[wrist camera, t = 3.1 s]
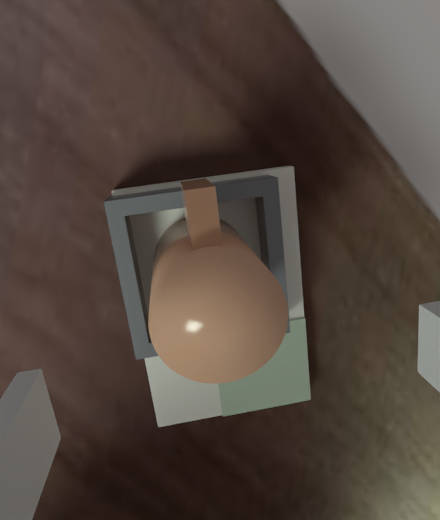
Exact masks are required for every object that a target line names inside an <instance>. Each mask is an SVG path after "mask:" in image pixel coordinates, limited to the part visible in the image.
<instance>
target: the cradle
mask: <svg viewBox="0 0 440 520" xmlns="http://www.w3.org/2000/svg"><path fill="white" fill-rule="evenodd" d="M211 183H212V184H213V185H214V186H215V188H216V196H217V203H220V202H227V201H234V200H241V199H248V198H255V201H256V212H257V222H258V232H259V242H260V252H261V261H262V262H263V264H264V265H265V266H266V267H267V268H268V270H269V271H270V272H271V273H272V274H273V275H274V277H275V278H276V279H277V281H278V282H279V284H280V285H281V287H282V289H283V292H284V294H285V297H286V300H287V306H288V296H287V284H286V272H285V259H284V247H283V235H282V222H281V210H280V198H279V186H278V177H274V176H271V175H261V176H254V177H247V178H239V179H232V180H225V181H218V182H211ZM104 205H105V210H106V215H107V220H108V225H109V230H110V235H111V240H112V244H113V249H114V254H115V259H116V264H117V269H118V274H119V279H120V284H121V288H122V293H123V298H124V303H125V308H126V313H127V318H128V323H129V328H130V332H131V337H132V342H133V347H134V352H135V357H136V360H138V359H143V358H149V357H155V356H159V355H158V354H157V352H156V351H155V349H154V346H153V344H152V342H151V338H150V334H149V326H148V314H147V308H146V303H145V298H144V293H143V287H142V282H141V277H140V271H139V266H138V261H137V255H136V250H135V245H134V240H133V234H132V229H131V224H130V218H129V215H136V214H143V213H150V212H157V211H164V210H171V209H178V208H184V204H183V197H182V191H181V187H174V188H167V189H160V190H153V191H145V192H138V193H131V194H124V195H117V196H109V197H108V198H107V199H106V200H105V201H104ZM286 333H290V321H289V308H288V324H287V329H286ZM286 333H285V334H286Z"/></svg>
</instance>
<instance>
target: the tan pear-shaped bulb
mask: <svg viewBox="0 0 440 520" xmlns="http://www.w3.org/2000/svg"><path fill="white" fill-rule="evenodd" d="M180 184H181V191H182V197H183V204H184V211H185V218H183V219H181V220H179V221H177V222H175V223H174V224H173V225H171V226H170V227H169V228H168V229H167V230H166V231H165V232H164V233H163V234H162V236H161V237H160V239H159V241H158V243H157V245H156V248H155V252H154V259H153V271H152V283H151V294H150V306H149V319H148V326H149V334H150V338H151V342H152V344H153V346H154V349H155V351H156V352H157V354H158V355H159V357H160V358H161V359H162V361H163V362H164V363H165V364H166V365H167V366H168V367H169V368H170V369H172V370H173V371H175V372H176V373H177V374H179V375H181V376H183V377H185V378H187V379H190V380H193V381H197V382H201V383H209V384H220V383H228V382H232V381H236V380H239V379H242V378H244V377H246V376H248V375H250V374H252V373H254V372H256V371H257V370H259V369H260V368H261V367H262V366H264V365H265V364H266V363H267V362H268V361H269V360H270V359H271V358H272V357H273V355H274V354H275V353H276V351H277V350H278V348H279V347H280V345H281V343H282V341H283V338H284V336H285V333H286V329H287V324H288V306H287V300H286V297H285V294H284V292H283V289H282V287H281V285H280V284H279V282H278V281H277V279H276V278H275V277H274V275H273V274H272V273H271V272H270V271H269V270H268V268H267V267H266V266H265V265H264V264H263V262H262V261H261V260H260V259H259V258H258V256H257V255H256V254H255V253H254V252H253V250H252V249H251V248H250V247H249V246H248V244H247V243H246V242H245V241H244V240H243V238H242V237H241V236H240V235H239V234H238V232H237V231H236V230H235V229H234V228H233V227H232V226H231V225H230V224H228V223H227V222H225V221H223V220H221V219H219V212H218V204H217V196H216V188H215V186H214V185H213V184H212V183H211V182H209V181H208V180H207V179H206V178H204V179H197V180H190V181H182V182H180Z"/></svg>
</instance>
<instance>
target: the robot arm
mask: <svg viewBox="0 0 440 520" xmlns="http://www.w3.org/2000/svg"><path fill="white" fill-rule="evenodd" d="M418 373H419V374H420V375H421V376H423V377H424V378H425V379H426V380H427V381H428V382H429V383H430V384H431V385H432V386H433V387H434V388H435V389H437V390H438V391H439V392H440V301H436V302H430V303H425V304H419V331H418ZM60 439H61V436H60V433H59V429H58V426H57V422H56V419H55V415H54V412H53V408H52V405H51V401H50V398H49V394H48V391H47V387H46V384H45V380H44V377H43V373H42V370H41V369H37V370H31V371H25V372H19V373H17V374H16V376H15V377H14V379H13V380H12V382H11V383H10V385H9V387H8V388H7V390H6V391H5V393H4V394H3V396H2V398H1V399H0V520H32V519H33V516H34V513H35V510H36V507H37V504H38V502H39V499H40V496H41V493H42V490H43V487H44V485H45V482H46V479H47V476H48V473H49V470H50V468H51V465H52V462H53V459H54V456H55V453H56V450H57V448H58V445H59V442H60Z"/></svg>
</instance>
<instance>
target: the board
mask: <svg viewBox="0 0 440 520" xmlns="http://www.w3.org/2000/svg"><path fill="white" fill-rule="evenodd" d="M261 175H271V176H274V177H278V186H279V198H280V210H281V222H282V235H283V247H284V259H285V272H286V284H287V296H288V308H289V321H290V333H286V334H285V336H284V338H283V341H282V343H281V345H280V347H279V348H278V350H277V351H276V353H275V354H274V355H273V357H272V358H271V359H270V360H269V361H268V362H267V363H266V364H265V365H264V366H262V367H261V368H260V369H259V370H257V371H256V372H254V373H252V374H250V375H248V376H246V377H244V378H242V379H239V380H236V381H232V382H228V383H220V384H209V383H201V382H197V381H193V380H190V379H187V378H185V377H183V376H181V375H179V374H177V373H176V372H175V371H173V370H172V369H170V368H169V367H168V366H167V365H166V364H165V363H164V362H163V361H162V359H161V358H160V357H159V356H155V357H149V358H144V359H145V364H146V369H147V374H148V379H149V384H150V389H151V394H152V399H153V404H154V409H155V414H156V419H157V424H158V427H163V426H168V425H173V424H178V423H184V422H189V421H194V420H199V419H205V418H210V417H215V416H220V415H223V417H224V416H229V415H234V414H240V413H245V412H250V411H255V410H260V409H266V408H271V407H276V406H281V405H287V404H292V403H297V402H302V401H307V400H311V394H310V379H309V365H308V351H307V336H306V322H305V318H304V305H303V290H302V276H301V262H300V247H299V233H298V219H297V204H296V190H295V176H294V166H283V167H275V168H268V169H261V170H253V171H246V172H239V173H232V174H224V175H217V176H210V177H202V178H195V179H188V180H181V181H173V182H166V183H159V184H151V185H144V186H137V187H130V188H122V189H115V190H112V191H111V192H112V196H117V195H124V194H131V193H138V192H145V191H153V190H160V189H167V188H174V187H181V184H180V182H182V181H190V180H197V179H204V178H206V179H207V180H208V181H209V182H218V181H225V180H232V179H239V178H247V177H254V176H261ZM217 204H218V212H219V219H221V220H223V221H225V222H227V223H228V224H230V225H231V226H232V227H233V228H234V229H235V230H236V231H237V232H238V234H239V235H240V236H241V237H242V238H243V240H244V241H245V242H246V243H247V244H248V246H249V247H250V248H251V249H252V250H253V252H254V253H255V254H256V255H257V256H258V258H259V259H260V260H261V252H260V242H259V232H258V222H257V212H256V201H255V198H248V199H241V200H234V201H227V202H220V203H217ZM129 218H130V224H131V229H132V234H133V240H134V245H135V250H136V255H137V261H138V266H139V271H140V277H141V282H142V287H143V293H144V298H145V303H146V308H147V314H148V319H149V306H150V294H151V283H152V271H153V259H154V252H155V248H156V245H157V243H158V241H159V239H160V237H161V236H162V234H163V233H164V232H165V231H166V230H167V229H168V228H169V227H170V226H171V225H173V224H174V223H175V222H177V221H179V220H181V219H183V218H185V211H184V208H178V209H171V210H164V211H157V212H150V213H143V214H136V215H129Z"/></svg>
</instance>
